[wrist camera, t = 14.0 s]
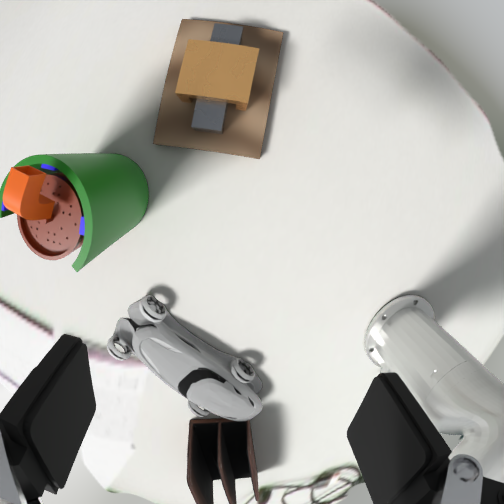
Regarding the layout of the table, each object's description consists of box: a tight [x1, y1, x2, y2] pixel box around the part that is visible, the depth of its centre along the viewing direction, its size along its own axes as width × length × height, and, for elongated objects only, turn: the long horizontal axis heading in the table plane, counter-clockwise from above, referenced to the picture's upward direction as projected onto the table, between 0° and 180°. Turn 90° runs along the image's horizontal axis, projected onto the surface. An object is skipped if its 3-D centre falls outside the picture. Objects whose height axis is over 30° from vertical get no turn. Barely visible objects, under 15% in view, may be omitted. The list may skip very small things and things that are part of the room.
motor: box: [0, 153, 149, 272], centre depth 24 cm, size 10×9×20 cm
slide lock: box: [175, 39, 259, 111], centre depth 27 cm, size 6×7×4 cm
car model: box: [107, 295, 263, 421], centre depth 39 cm, size 11×24×5 cm, turn 47°
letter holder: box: [187, 418, 259, 504], centre depth 41 cm, size 10×20×14 cm, turn 5°
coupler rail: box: [191, 23, 243, 134], centre depth 28 cm, size 12×3×4 cm, turn 170°
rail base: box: [153, 19, 283, 159], centre depth 30 cm, size 16×12×2 cm
